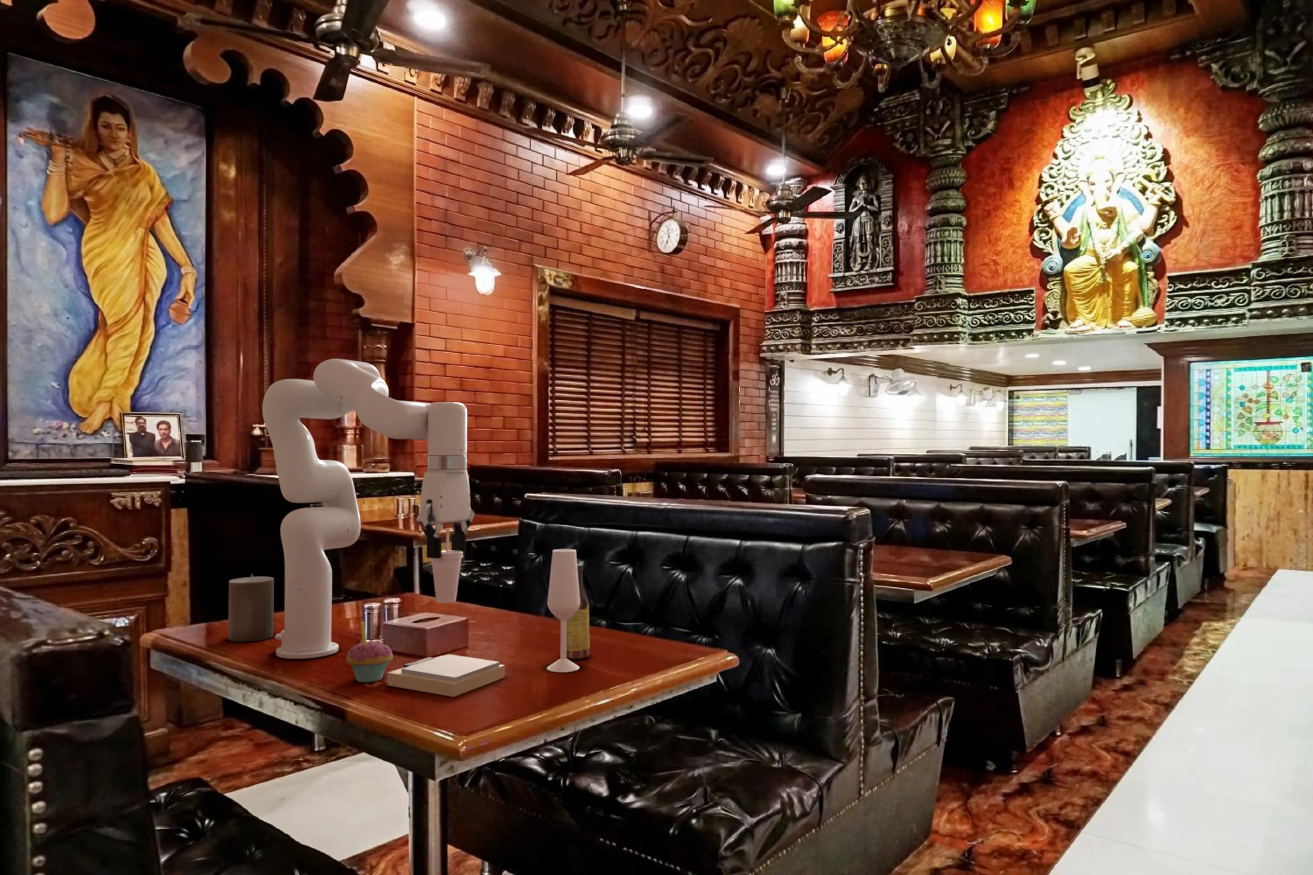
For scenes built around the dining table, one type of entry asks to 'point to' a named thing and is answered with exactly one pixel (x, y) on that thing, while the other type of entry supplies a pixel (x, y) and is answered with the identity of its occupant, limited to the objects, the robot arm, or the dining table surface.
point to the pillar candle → (251, 609)
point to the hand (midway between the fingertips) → (446, 555)
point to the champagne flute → (563, 599)
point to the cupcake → (369, 659)
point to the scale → (446, 674)
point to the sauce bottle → (578, 626)
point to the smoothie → (446, 573)
